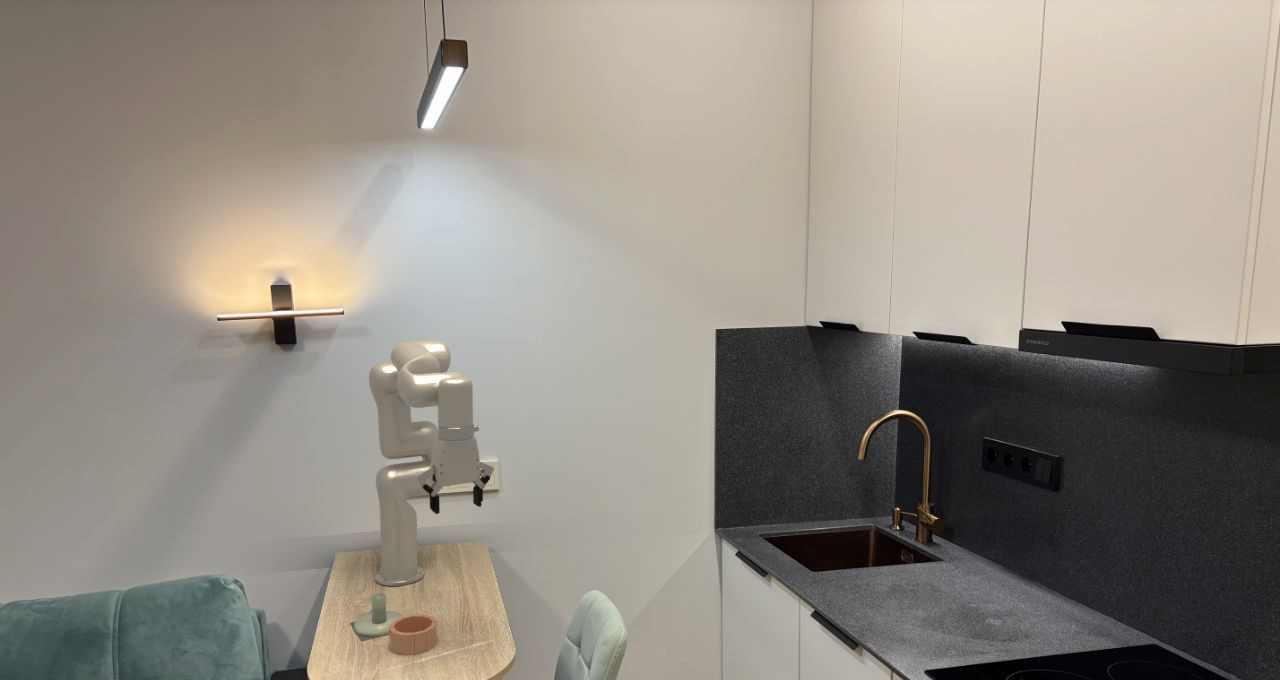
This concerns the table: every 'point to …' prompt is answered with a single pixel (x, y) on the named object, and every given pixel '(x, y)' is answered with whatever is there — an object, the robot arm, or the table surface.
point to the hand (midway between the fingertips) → (456, 508)
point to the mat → (363, 638)
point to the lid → (376, 619)
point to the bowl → (413, 634)
